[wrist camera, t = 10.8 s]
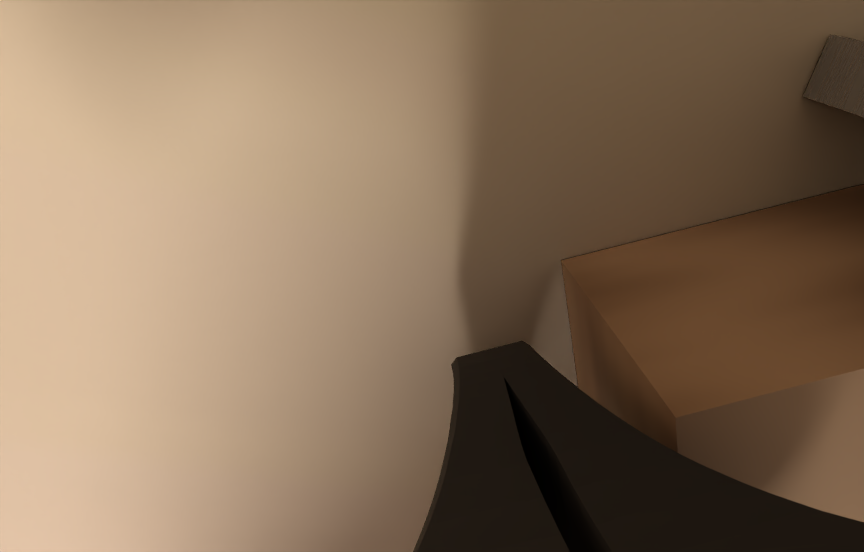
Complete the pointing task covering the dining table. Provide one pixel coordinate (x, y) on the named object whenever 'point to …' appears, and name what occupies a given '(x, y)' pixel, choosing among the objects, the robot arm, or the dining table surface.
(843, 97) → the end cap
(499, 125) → the dining table surface
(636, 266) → the brown rectangular block
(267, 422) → the dining table surface
